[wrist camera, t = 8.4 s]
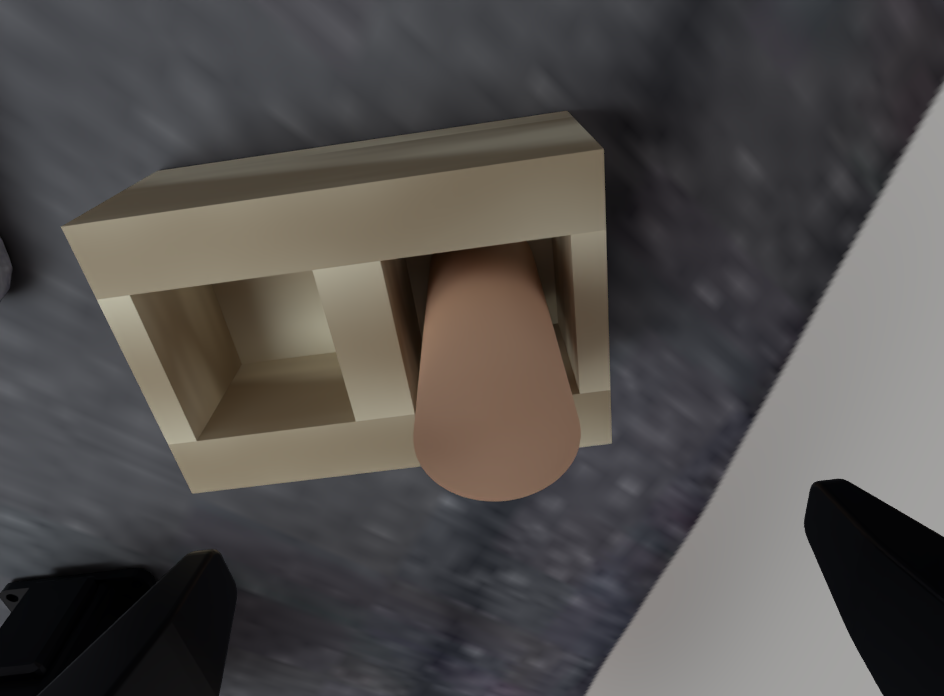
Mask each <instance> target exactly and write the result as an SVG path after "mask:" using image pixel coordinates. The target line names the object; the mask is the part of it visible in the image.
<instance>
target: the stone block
mask: <svg viewBox="0 0 944 696" xmlns="http://www.w3.org/2000/svg"><path fill="white" fill-rule="evenodd" d="M12 270H13V268H12V265H11V261H10V258H9V256H8V253H7V251H6V249H5V246H4V243H3V241H2V239H1V238H0V301H1V300H2V298H3V297H4V295H5V294H6V293H7V292H8V290H9V289H10V282H11V273H12Z"/></svg>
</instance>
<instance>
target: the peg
mask: <svg viewBox="0 0 944 696" xmlns="http://www.w3.org/2000/svg"><path fill="white" fill-rule="evenodd" d="M580 439H581V428H580V421H579V418H578V414H577V410H576V407H575V403H574V400H573V396H572V392H571V389H570V385H569V382H568V378H567V374H566V371H565V367H564V364H563V360H562V357H561V353H560V349H559V346H558V342H557V339H556V335H555V331H554V328H553V324H552V321H551V317H550V313H549V310H548V306H547V303H546V299H545V295H544V292H543V288H542V285H541V281H540V278H539V274H538V270H537V267H536V263H535V260H534V256H533V253H532V250H531V248H530V246H529V245H528V243H527V242H526V241H522V242H515V243H507V244H500V245H493V246H485V247H478V248H471V249H464V250H456V251H449V252H442V253H434V254H433V255H432V258H431V263H430V271H429V281H428V291H427V301H426V311H425V321H424V331H423V341H422V351H421V361H420V371H419V381H418V391H417V401H416V411H415V422H414V432H413V444H414V450H415V453H416V456H417V459H418V461H419V463H420V465H421V467H422V468H423V469H424V471H425V472H426V473H427V474H428V475H429V476H430V477H431V478H432V480H434V481H435V482H436V483H437V484H439V485H440V486H442V487H443V488H445V489H447V490H448V491H450V492H452V493H455V494H457V495H460V496H463V497H466V498H470V499H474V500H481V501H508V500H514V499H519V498H522V497H526V496H529V495H531V494H534V493H536V492H538V491H540V490H542V489H544V488H546V487H548V486H549V485H551V484H552V483H554V482H555V481H556V480H557V479H558V478H560V477H561V476H562V475H563V474H564V473H565V471H566V470H567V469H568V468H569V466H570V465H571V464H572V462H573V460H574V458H575V456H576V454H577V451H578V449H579V445H580Z"/></svg>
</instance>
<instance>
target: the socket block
mask: <svg viewBox="0 0 944 696" xmlns="http://www.w3.org/2000/svg"><path fill="white" fill-rule="evenodd" d="M61 228H62V230H63V232H64V234H65V236H66V238H67V240H68V242H69V244H70V246H71V248H72V250H73V252H74V254H75V256H76V258H77V260H78V262H79V264H80V266H81V268H82V270H83V272H84V274H85V276H86V278H87V281H88V283H89V285H90V287H91V289H92V291H93V293H94V295H95V297H96V299H97V301H98V303H99V305H100V307H101V309H102V311H103V313H104V315H105V317H106V319H107V321H108V323H109V325H110V327H111V329H112V331H113V333H114V335H115V337H116V339H117V341H118V344H119V346H120V348H121V350H122V352H123V354H124V356H125V358H126V360H127V362H128V364H129V366H130V368H131V370H132V372H133V374H134V376H135V378H136V380H137V382H138V384H139V386H140V388H141V390H142V392H143V394H144V396H145V398H146V400H147V402H148V404H149V407H150V409H151V411H152V413H153V415H154V417H155V419H156V421H157V423H158V425H159V427H160V429H161V431H162V433H163V435H164V437H165V439H166V441H167V443H168V445H169V447H170V449H171V451H172V453H173V455H174V457H175V459H176V461H177V463H178V465H179V467H180V470H181V472H182V474H183V476H184V478H185V480H186V482H187V484H188V486H189V488H190V490H191V492H192V494H193V493H201V492H210V491H218V490H227V489H235V488H243V487H252V486H260V485H268V484H277V483H285V482H294V481H302V480H310V479H319V478H327V477H335V476H344V475H352V474H360V473H369V472H377V471H386V470H394V469H402V468H411V467H419V466H421V465H420V463H419V461H418V459H417V456H416V453H415V450H414V444H413V432H414V422H415V411H416V401H417V391H418V381H419V371H420V361H421V351H422V341H423V331H424V321H425V311H426V301H427V291H428V281H429V271H430V263H431V258H432V255H433V254H434V253H442V252H449V251H456V250H464V249H471V248H478V247H485V246H493V245H500V244H507V243H515V242H522V241H526V242H527V243H528V245H529V246H530V248H531V250H532V253H533V256H534V260H535V263H536V267H537V270H538V274H539V278H540V281H541V285H542V288H543V292H544V295H545V299H546V303H547V306H548V310H549V313H550V317H551V321H552V324H553V328H554V331H555V335H556V339H557V342H558V346H559V349H560V353H561V357H562V360H563V364H564V367H565V371H566V374H567V378H568V382H569V385H570V389H571V392H572V396H573V400H574V403H575V407H576V410H577V414H578V418H579V421H580V428H581V439H580V445H579V447H586V446H595V445H603V444H612V433H611V396H610V359H609V321H608V284H607V247H606V210H605V173H604V149H603V148H602V146H601V145H600V144H599V143H598V142H597V141H596V140H595V139H594V138H593V137H592V136H591V135H590V134H589V133H588V132H587V131H586V130H585V129H584V128H583V127H582V126H581V125H580V124H579V123H578V122H577V121H576V120H575V119H574V118H573V116H572V115H571V114H570V113H569V112H568V111H562V112H555V113H548V114H541V115H535V116H528V117H521V118H514V119H507V120H501V121H494V122H487V123H480V124H473V125H467V126H460V127H453V128H446V129H439V130H433V131H426V132H419V133H412V134H405V135H398V136H392V137H385V138H378V139H371V140H364V141H358V142H351V143H344V144H337V145H330V146H324V147H317V148H310V149H303V150H296V151H290V152H283V153H276V154H269V155H262V156H256V157H249V158H242V159H235V160H228V161H222V162H215V163H208V164H201V165H194V166H188V167H181V168H174V169H167V170H160V171H156V172H155V173H153V174H151V175H149V176H148V177H146V178H144V179H143V180H141V181H139V182H137V183H136V184H134V185H132V186H131V187H129V188H127V189H125V190H124V191H122V192H120V193H118V194H117V195H115V196H113V197H112V198H110V199H108V200H106V201H105V202H103V203H101V204H99V205H98V206H96V207H94V208H93V209H91V210H89V211H87V212H86V213H84V214H82V215H80V216H79V217H77V218H75V219H74V220H72V221H70V222H68V223H67V224H65V225H63V226H61Z"/></svg>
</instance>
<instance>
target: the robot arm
mask: <svg viewBox="0 0 944 696" xmlns="http://www.w3.org/2000/svg"><path fill="white" fill-rule="evenodd" d="M804 527H805V533H806V536H807V538H808V541H809V543H810V545H811V548H812V550H813V552H814V554H815V557H816V559H817V562H818V564H819V566H820V568H821V571H822V573H823V576H824V578H825V580H826V582H827V585H828V587H829V589H830V592H831V594H832V596H833V599H834V601H835V603H836V606H837V608H838V610H839V612H840V615H841V617H842V619H843V622H844V623H845V626H846V628H847V630H848V632H849V634H850V636H851V638H852V640H853V642H854V644H855V646H856V648H857V650H858V652H859V653H860V655H861V657H862V659H863V660H864V662H865V664H866V666H867V668H868V669H869V671H870V673H871V675H872V676H873V678H874V680H875V682H876V684H877V685H878V687H879V689H880V691H881V692H882V694H883V695H884V696H944V537H943V536H941V535H940V534H938V533H936V532H934V531H933V530H931V529H929V528H928V527H926V526H924V525H922V524H921V523H919V522H917V521H916V520H914V519H912V518H910V517H909V516H907V515H905V514H904V513H902V512H900V511H898V510H897V509H895V508H893V507H892V506H890V505H888V504H886V503H885V502H883V501H881V500H879V499H878V498H876V497H874V496H872V495H871V494H869V493H867V492H866V491H864V490H862V489H861V488H859V487H857V486H856V485H854V484H852V483H850V482H849V481H846V480H844V479H832V480H823V481H817V482H814V483H813V484H812V486H811V489H810V492H809V498H808V503H807V508H806V514H805V519H804ZM0 598H1V600H2V601H3V602H4V604H5V605H6V606H7V607H8V609H9V610H10V611H11V614H10V615H9V617H8V618H7V619H6V621H5V622H4V623H3V625H2V626H1V628H0V696H219V692H220V688H221V683H222V678H223V672H224V666H225V661H226V655H227V650H228V644H229V639H230V633H231V628H232V622H233V616H234V611H235V605H236V599H237V588H236V584H235V581H234V579H233V577H232V575H231V573H230V571H229V569H228V567H227V565H226V563H225V561H224V559H223V557H222V555H221V554H220V552H218V551H217V550H214V549H211V550H202V551H194V552H191V553H189V554H187V555H186V556H185V557H184V558H182V559H181V560H180V561H179V562H178V563H177V564H176V565H175V566H174V567H173V568H172V569H171V570H170V571H169V572H168V573H167V574H166V575H164V576H163V577H162V578H161V579H160V580H159V581H158V582H157V583H156V581H155V579H154V578H153V576H152V575H151V573H150V572H148V571H147V570H144V569H141V568H135V569H126V570H117V571H108V572H100V573H91V574H82V575H73V576H64V577H56V578H47V579H38V580H29V581H21V582H12V583H8V584H7V585H6V586H5V588H4V589H3V590H2V592H1V593H0Z"/></svg>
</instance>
